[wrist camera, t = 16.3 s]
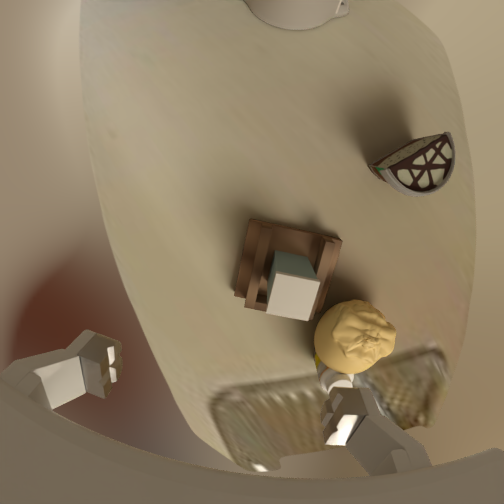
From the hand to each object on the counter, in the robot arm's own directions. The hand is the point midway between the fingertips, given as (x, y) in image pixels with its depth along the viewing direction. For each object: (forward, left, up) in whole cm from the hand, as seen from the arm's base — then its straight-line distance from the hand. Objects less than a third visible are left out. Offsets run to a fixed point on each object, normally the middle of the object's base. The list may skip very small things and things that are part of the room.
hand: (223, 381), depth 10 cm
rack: (+6, +6, -34) cm, 35 cm away
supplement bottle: (+20, +18, -34) cm, 43 cm away
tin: (+6, +6, -33) cm, 34 cm away
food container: (-13, +20, -34) cm, 42 cm away
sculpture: (+14, +18, -34) cm, 41 cm away
